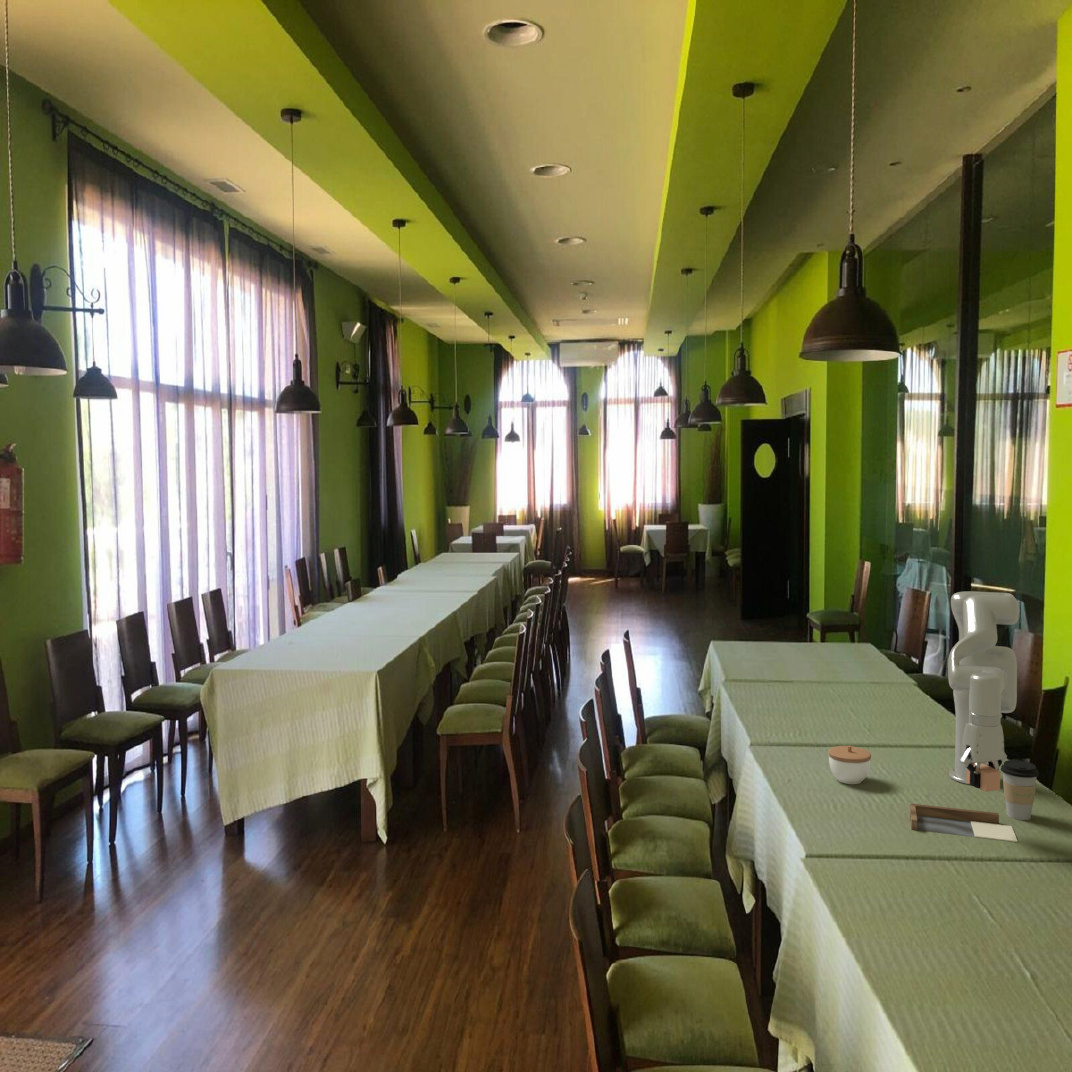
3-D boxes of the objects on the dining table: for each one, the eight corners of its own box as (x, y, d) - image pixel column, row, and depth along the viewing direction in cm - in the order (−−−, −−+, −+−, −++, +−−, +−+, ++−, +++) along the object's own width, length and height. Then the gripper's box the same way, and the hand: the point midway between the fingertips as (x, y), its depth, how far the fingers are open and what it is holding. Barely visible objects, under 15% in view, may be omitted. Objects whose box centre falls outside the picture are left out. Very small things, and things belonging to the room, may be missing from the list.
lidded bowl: (874, 788, 265) (874, 753, 264) (831, 786, 268) (831, 751, 267) (866, 774, 277) (867, 740, 276) (825, 772, 280) (826, 739, 279)
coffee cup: (1018, 825, 237) (1019, 772, 235) (991, 812, 246) (992, 761, 245) (1045, 821, 239) (1047, 768, 238) (1018, 808, 248) (1019, 757, 247)
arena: (909, 813, 246) (909, 803, 246) (1011, 825, 237) (1011, 814, 237) (911, 830, 235) (911, 819, 235) (1018, 843, 226) (1018, 832, 225)
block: (966, 782, 235) (966, 764, 234) (979, 780, 236) (980, 762, 236) (986, 791, 228) (986, 773, 228) (999, 789, 229) (1000, 771, 229)
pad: (970, 822, 239) (970, 821, 239) (1011, 826, 235) (1011, 825, 235) (974, 836, 229) (974, 835, 229) (1017, 842, 226) (1017, 841, 226)
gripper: (999, 712, 236) (997, 776, 238) (947, 718, 232) (946, 784, 233) (1021, 719, 229) (1019, 786, 231) (968, 726, 225) (967, 794, 226)
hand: (983, 784), depth 232 cm, fingers closed on block, 4 cm apart
